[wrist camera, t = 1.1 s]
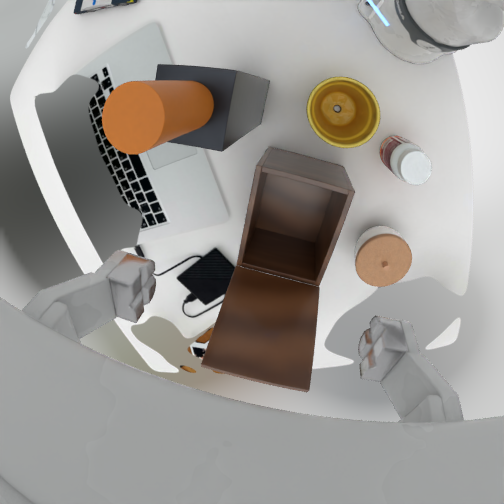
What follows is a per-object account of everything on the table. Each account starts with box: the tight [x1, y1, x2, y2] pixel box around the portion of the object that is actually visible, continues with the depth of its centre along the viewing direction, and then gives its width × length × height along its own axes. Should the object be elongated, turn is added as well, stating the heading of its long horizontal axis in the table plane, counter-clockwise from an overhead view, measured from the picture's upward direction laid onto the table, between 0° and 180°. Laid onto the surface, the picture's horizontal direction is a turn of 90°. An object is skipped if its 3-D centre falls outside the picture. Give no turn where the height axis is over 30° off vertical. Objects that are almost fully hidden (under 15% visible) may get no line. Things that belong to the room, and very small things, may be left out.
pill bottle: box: [380, 136, 432, 185], centre depth 39 cm, size 6×6×11 cm
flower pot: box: [307, 77, 380, 148], centre depth 38 cm, size 10×10×10 cm
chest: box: [237, 147, 355, 286], centre depth 47 cm, size 17×14×13 cm
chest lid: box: [201, 266, 319, 392], centre depth 39 cm, size 18×14×1 cm
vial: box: [102, 80, 214, 154], centre depth 20 cm, size 5×5×10 cm
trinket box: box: [355, 226, 412, 287], centre depth 50 cm, size 11×11×9 cm
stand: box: [155, 64, 270, 151], centre depth 34 cm, size 8×8×24 cm
